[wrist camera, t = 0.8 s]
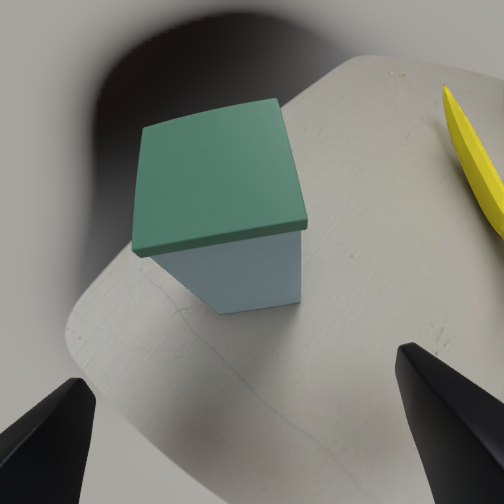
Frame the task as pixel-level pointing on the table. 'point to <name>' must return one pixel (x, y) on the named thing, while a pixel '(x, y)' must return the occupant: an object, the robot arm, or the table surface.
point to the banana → (475, 163)
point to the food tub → (223, 206)
